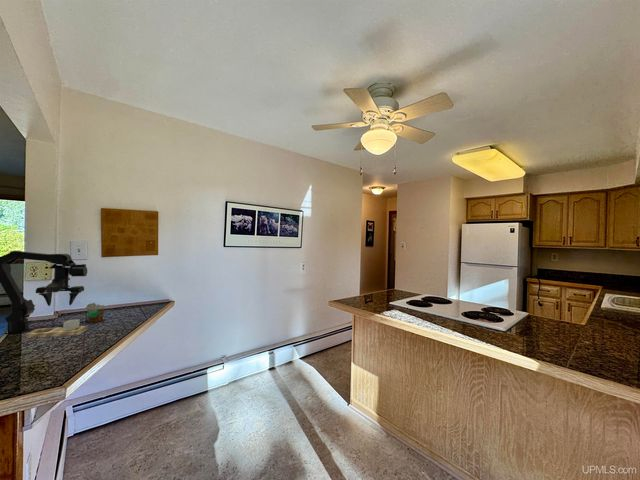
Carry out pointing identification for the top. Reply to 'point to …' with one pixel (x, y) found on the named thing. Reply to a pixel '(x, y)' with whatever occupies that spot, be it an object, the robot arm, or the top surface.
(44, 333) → the rail
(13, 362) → the top surface
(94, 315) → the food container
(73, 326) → the nut block
